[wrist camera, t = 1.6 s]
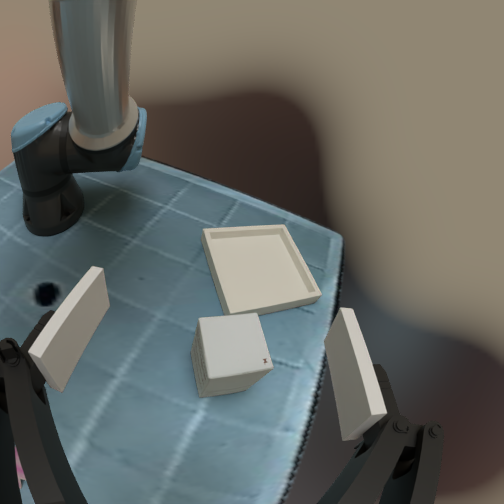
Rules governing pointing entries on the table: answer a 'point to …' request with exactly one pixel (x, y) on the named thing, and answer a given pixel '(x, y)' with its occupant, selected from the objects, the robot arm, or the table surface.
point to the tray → (258, 269)
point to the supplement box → (229, 354)
